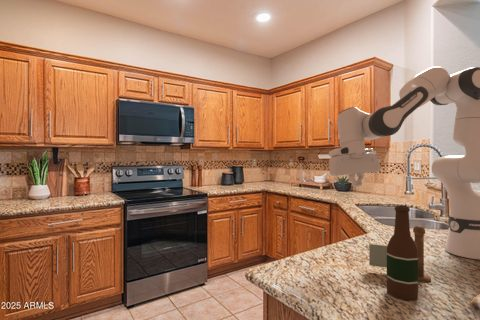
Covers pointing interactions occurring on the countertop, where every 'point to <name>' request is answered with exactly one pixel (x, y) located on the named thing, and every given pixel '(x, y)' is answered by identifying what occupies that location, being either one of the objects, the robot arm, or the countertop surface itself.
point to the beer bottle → (402, 259)
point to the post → (420, 253)
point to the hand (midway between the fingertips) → (357, 186)
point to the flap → (378, 255)
